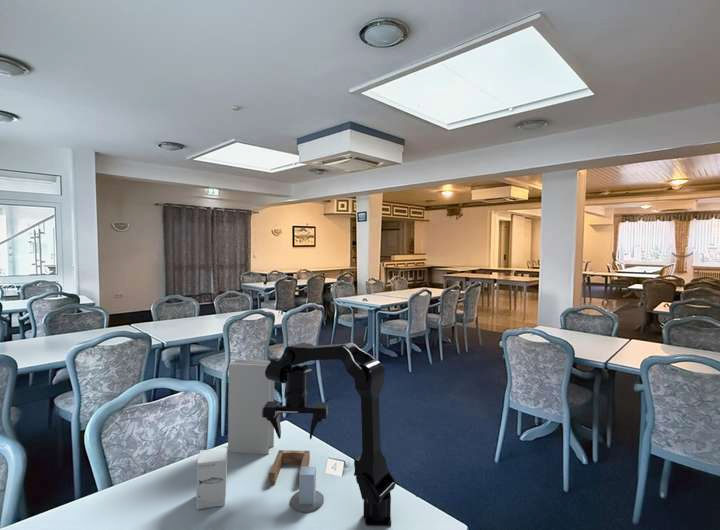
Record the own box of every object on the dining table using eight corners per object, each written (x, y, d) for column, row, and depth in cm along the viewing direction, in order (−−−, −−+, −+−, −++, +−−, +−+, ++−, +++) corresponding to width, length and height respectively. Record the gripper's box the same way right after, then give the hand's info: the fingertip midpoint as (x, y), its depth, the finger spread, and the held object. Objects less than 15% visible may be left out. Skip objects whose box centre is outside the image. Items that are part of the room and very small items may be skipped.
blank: (315, 494, 108) (315, 466, 108) (313, 504, 105) (314, 474, 104) (301, 494, 108) (301, 466, 108) (298, 503, 104) (299, 474, 104)
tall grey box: (273, 446, 137) (274, 361, 136) (268, 454, 131) (269, 365, 130) (234, 443, 138) (235, 359, 137) (228, 451, 132) (228, 363, 132)
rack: (309, 461, 127) (309, 450, 127) (303, 485, 114) (304, 473, 114) (278, 460, 127) (278, 450, 127) (269, 484, 114) (269, 472, 114)
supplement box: (195, 510, 102) (195, 463, 102) (199, 493, 109) (199, 449, 109) (225, 506, 104) (225, 459, 103) (227, 490, 111) (227, 446, 111)
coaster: (325, 491, 111) (325, 489, 111) (322, 512, 102) (322, 510, 102) (293, 491, 111) (293, 489, 111) (287, 512, 102) (287, 509, 102)
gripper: (329, 378, 124) (328, 426, 124) (270, 377, 123) (269, 425, 124) (326, 390, 112) (325, 444, 113) (262, 389, 112) (261, 442, 113)
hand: (295, 438), depth 116 cm, fingers open, 9 cm apart
